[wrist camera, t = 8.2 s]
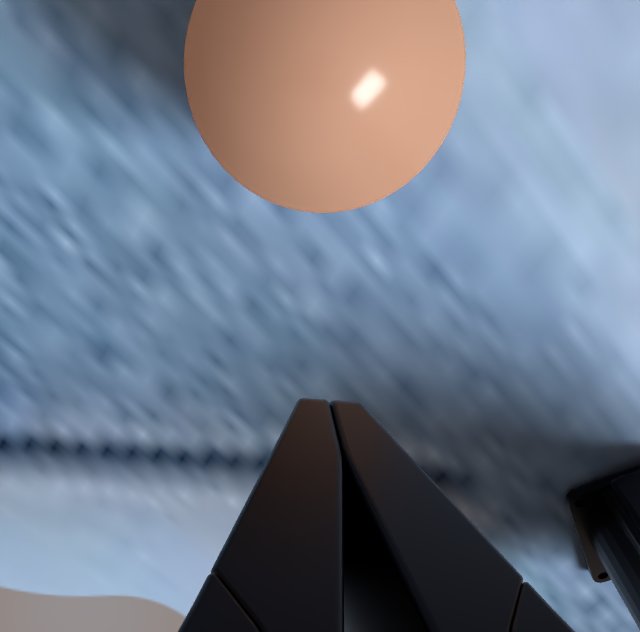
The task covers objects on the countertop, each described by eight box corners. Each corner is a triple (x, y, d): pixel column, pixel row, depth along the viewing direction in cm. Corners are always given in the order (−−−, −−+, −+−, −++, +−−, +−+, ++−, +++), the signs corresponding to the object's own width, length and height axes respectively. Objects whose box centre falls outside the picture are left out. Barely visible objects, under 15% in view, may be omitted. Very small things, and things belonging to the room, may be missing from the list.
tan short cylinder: (442, 106, 18) (498, 146, 14) (265, 189, 19) (263, 252, 15) (370, -116, 15) (410, -154, 11) (164, -7, 16) (126, -2, 12)
